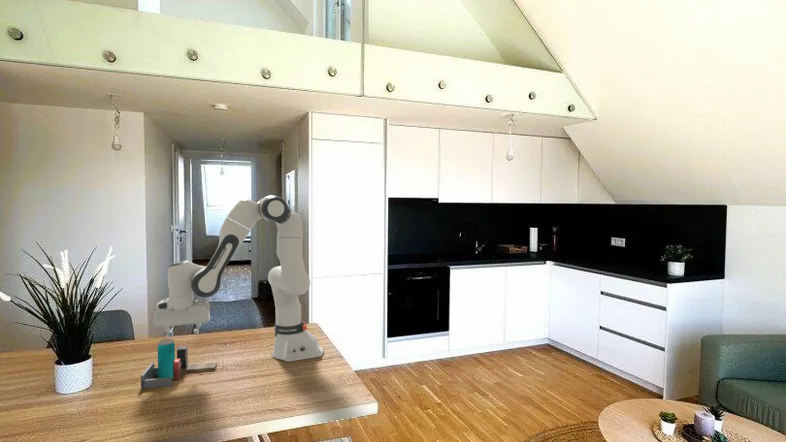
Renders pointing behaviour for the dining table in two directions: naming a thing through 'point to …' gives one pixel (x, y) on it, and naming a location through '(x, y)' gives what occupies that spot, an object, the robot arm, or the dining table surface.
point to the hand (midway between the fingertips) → (183, 335)
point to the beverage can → (166, 358)
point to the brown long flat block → (199, 367)
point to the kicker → (180, 361)
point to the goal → (153, 383)
